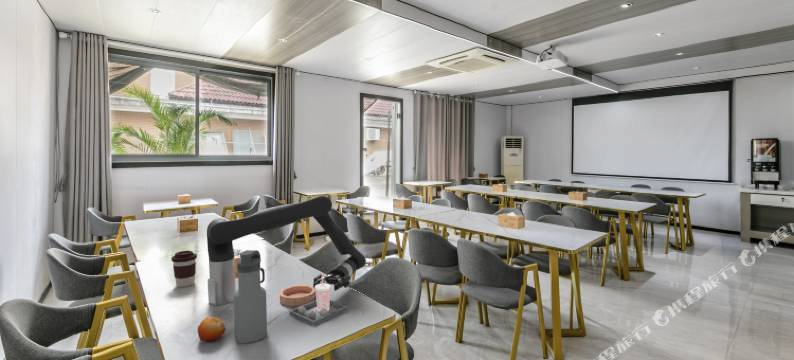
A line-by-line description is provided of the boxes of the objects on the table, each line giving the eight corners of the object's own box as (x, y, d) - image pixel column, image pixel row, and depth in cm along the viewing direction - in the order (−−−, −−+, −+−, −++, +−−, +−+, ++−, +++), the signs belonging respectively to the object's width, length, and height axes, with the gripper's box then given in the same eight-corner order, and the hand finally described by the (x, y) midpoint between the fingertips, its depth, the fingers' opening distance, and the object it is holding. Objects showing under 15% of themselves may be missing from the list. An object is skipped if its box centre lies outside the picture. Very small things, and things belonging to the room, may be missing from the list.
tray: (313, 325, 125) (313, 321, 125) (289, 314, 134) (289, 310, 134) (347, 310, 138) (347, 306, 138) (323, 301, 146) (323, 297, 146)
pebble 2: (311, 321, 128) (311, 313, 128) (306, 319, 130) (305, 311, 130) (318, 318, 131) (317, 310, 130) (312, 316, 132) (312, 308, 132)
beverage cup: (311, 311, 137) (311, 274, 136) (320, 304, 143) (320, 270, 142) (325, 313, 135) (325, 276, 134) (334, 307, 141) (333, 271, 140)
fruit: (198, 329, 120) (210, 309, 120) (220, 340, 121) (232, 320, 121) (186, 342, 112) (199, 320, 112) (209, 354, 113) (222, 332, 112)
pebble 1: (300, 317, 132) (300, 309, 132) (295, 314, 134) (295, 306, 134) (307, 314, 134) (307, 306, 134) (302, 312, 136) (302, 304, 136)
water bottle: (243, 328, 124) (241, 247, 122) (272, 328, 123) (269, 247, 121) (229, 344, 113) (225, 256, 111) (260, 344, 113) (257, 256, 111)
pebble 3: (323, 319, 130) (322, 310, 130) (317, 316, 132) (317, 308, 132) (329, 316, 133) (329, 308, 133) (324, 313, 135) (323, 306, 134)
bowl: (293, 309, 139) (293, 300, 139) (273, 299, 148) (272, 292, 148) (322, 297, 150) (322, 290, 150) (301, 289, 159) (301, 282, 158)
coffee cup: (167, 287, 163) (166, 254, 162) (187, 279, 172) (186, 248, 171) (183, 290, 159) (181, 256, 158) (202, 282, 168) (201, 250, 167)
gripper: (325, 264, 157) (307, 276, 141) (356, 266, 154) (341, 279, 138) (325, 281, 158) (307, 295, 142) (356, 283, 154) (342, 298, 138)
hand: (324, 287), depth 140 cm, fingers open, 8 cm apart
